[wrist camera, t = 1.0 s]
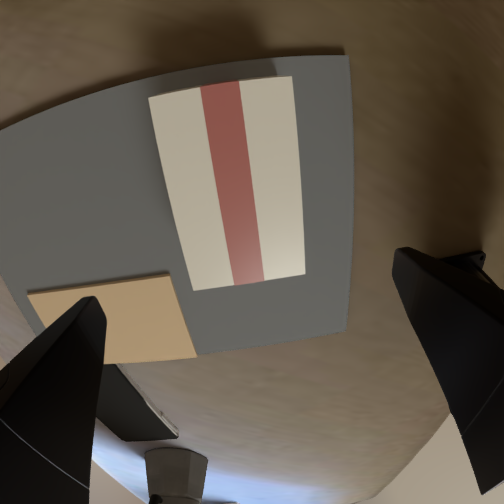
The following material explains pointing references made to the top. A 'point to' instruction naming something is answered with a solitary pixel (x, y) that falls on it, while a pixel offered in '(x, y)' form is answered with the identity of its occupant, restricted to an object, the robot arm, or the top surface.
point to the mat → (169, 219)
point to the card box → (233, 179)
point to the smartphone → (130, 409)
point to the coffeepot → (175, 476)
